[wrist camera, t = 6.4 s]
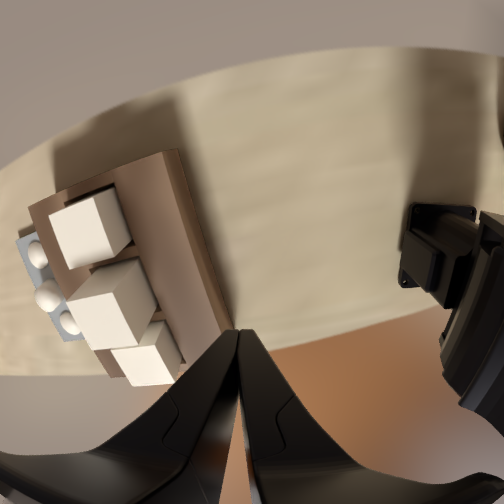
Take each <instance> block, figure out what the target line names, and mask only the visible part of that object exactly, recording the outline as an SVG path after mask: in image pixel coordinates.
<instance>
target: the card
mask: <svg viewBox="0 0 504 504" xmlns="http://www.w3.org/2000/svg"><path fill="white" fill-rule="evenodd" d="M15 242H16V244H17V247H18V250H19V252H20V254H21V257H22V259H23V262H24V264H25V266H26V269H27V271H28V273H29V276H30V278H31V280H32V282H33V284H34V286H35V288H36V290H35V294H34V295H35V300H36V302H37V304H38V305H39V306H40V307H41V308H42V309H43V310H45V311H47V312H48V314H49V316H50V318H51V320H52V322H53V323H54V325H55V327H56V329H57V331H58V332H59V334H60V336H61V337H62V339H63V341H64V342H66V341H75V340H84V339H85V338H84V336H83V334H82V332H81V330H80V329H79V327H78V325H77V323H76V321H75V320H74V318H73V316H72V314H71V312H70V310H69V308H68V306H67V304H66V299H65V297H64V295H63V293H62V291H61V289H60V287H59V285H58V283H57V280H56V278H55V276H54V274H53V271H52V269H51V267H50V265H49V262H48V260H47V257H46V255H45V253H44V250H43V248H42V245H41V243H40V240H39V237H38V235H37V232H36V231H35V232H33V233H31V234H28V235H26V236H24V237H22V238H19V239H18V240H16V241H15Z"/></svg>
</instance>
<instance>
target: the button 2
mask: <svg viewBox="0 0 504 504" xmlns="http://www.w3.org/2000/svg"><path fill="white" fill-rule="evenodd" d="M110 351H111V352H112V354H113V356H114V357H115V359H116V361H117V362H118V364H119V366H120V367H121V369H122V370H123V372H124V374H125V375H126V377H127V378H128V380H129V381H130V383H131V384H132V386H146V385H147V386H148V385H161V384H172V383H175V382H176V378H177V375H178V371H179V367H180V363H181V360H182V356H183V355H182V353H181V351H180V349H179V347H178V344H177V342H176V340H175V338H174V336H173V334H172V332H171V329H170V327H169V325H168V323H167V321H166V319H164V320H158V321H152V322H149V324H148V326H147V328H146V330H145V332H144V334H143V337H142V339H141V341H140V343H139V345H136V346H128V347H119V348H112V349H111V350H110Z"/></svg>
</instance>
